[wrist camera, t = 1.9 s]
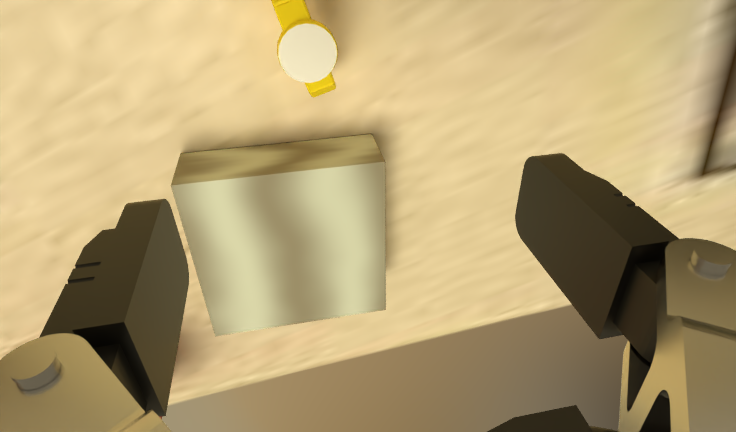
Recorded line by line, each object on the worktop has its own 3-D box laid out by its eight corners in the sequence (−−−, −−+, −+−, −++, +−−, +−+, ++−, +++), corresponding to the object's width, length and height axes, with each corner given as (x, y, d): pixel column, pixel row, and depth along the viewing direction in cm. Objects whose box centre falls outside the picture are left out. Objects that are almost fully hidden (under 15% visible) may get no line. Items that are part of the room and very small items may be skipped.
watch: (338, 61, 29) (357, 103, 24) (295, 78, 29) (306, 123, 24) (300, -45, 25) (314, -21, 20) (250, -26, 25) (253, 3, 20)
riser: (371, 133, 31) (384, 161, 28) (374, 274, 38) (385, 309, 35) (180, 153, 29) (170, 185, 26) (219, 296, 36) (215, 336, 33)
